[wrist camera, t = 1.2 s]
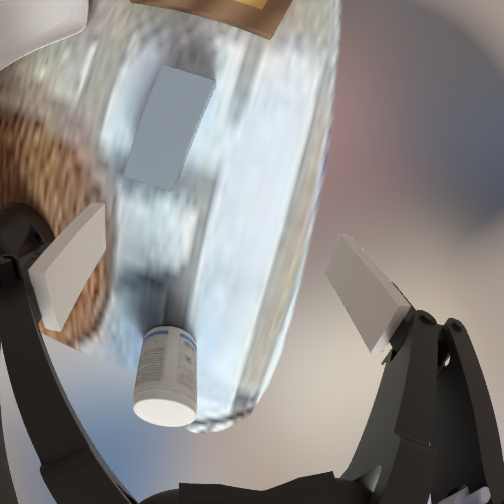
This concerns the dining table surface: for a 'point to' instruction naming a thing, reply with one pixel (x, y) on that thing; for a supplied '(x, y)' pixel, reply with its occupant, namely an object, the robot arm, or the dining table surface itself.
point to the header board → (233, 12)
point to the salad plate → (37, 25)
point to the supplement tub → (167, 378)
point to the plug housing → (168, 127)
